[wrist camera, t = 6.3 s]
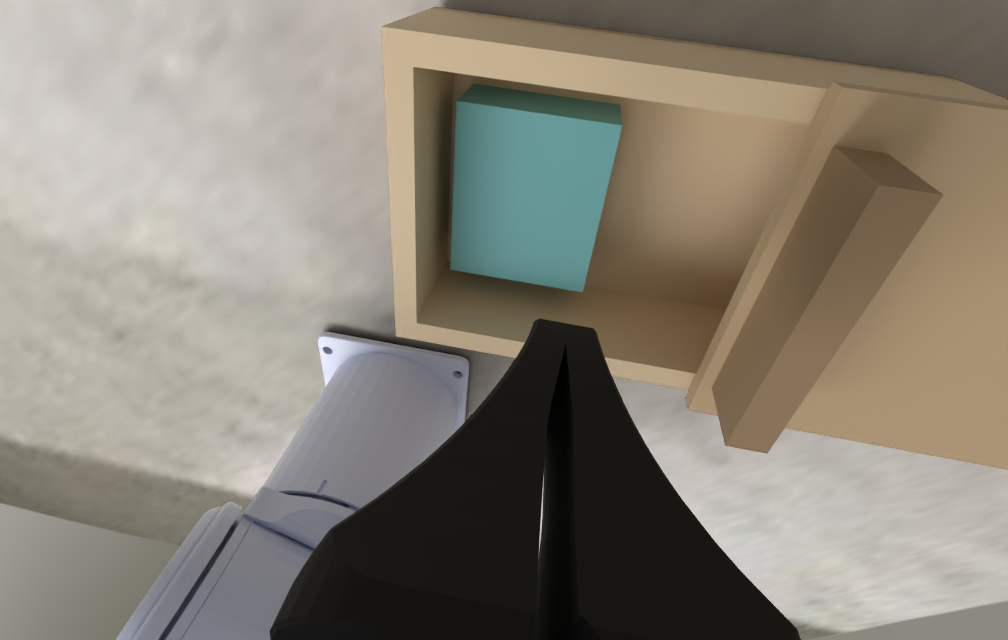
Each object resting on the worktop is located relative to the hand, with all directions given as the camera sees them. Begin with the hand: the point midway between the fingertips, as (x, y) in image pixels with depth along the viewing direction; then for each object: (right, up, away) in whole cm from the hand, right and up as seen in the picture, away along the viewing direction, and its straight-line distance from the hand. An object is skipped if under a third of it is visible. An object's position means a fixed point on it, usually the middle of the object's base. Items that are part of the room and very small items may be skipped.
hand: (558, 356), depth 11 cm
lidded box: (+4, +6, +7) cm, 10 cm away
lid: (+14, +1, +3) cm, 14 cm away
